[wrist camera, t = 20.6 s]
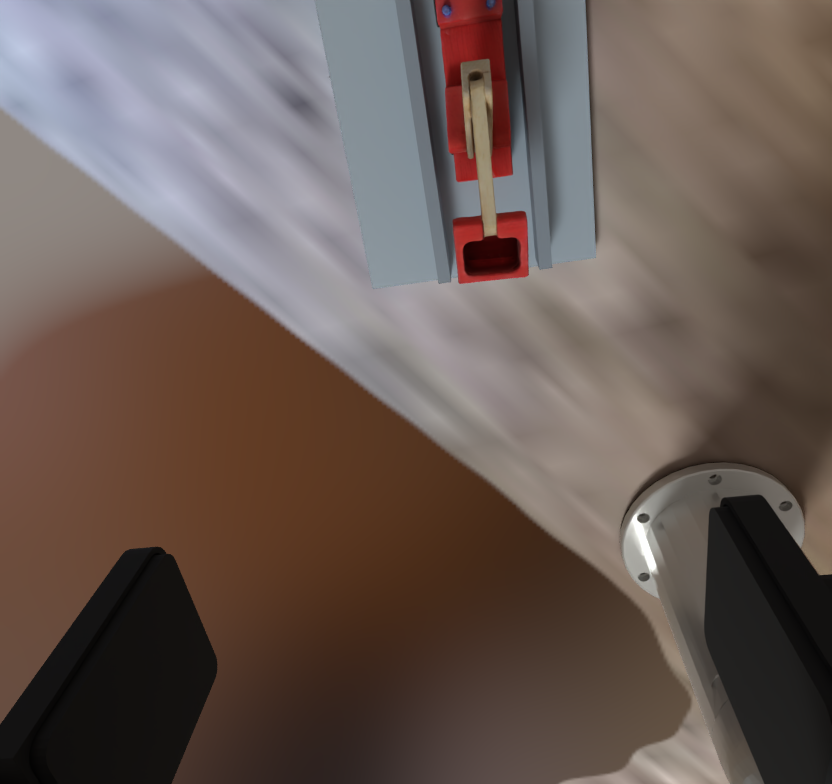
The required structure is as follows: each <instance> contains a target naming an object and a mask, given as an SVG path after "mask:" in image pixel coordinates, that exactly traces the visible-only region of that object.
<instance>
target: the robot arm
mask: <svg viewBox="0 0 832 784" xmlns="http://www.w3.org/2000/svg"><path fill="white" fill-rule="evenodd" d="M804 536H805V521H804V517H803V513H802V510H801V507H800V506H799V504H798V502H797V501H796V499H795V497H794V496H793V495H792V494H791V492H790V491H789V490H788V489H787V487H786V486H785V485H784V484H783V483H781V482H780V481H779V480H778V479H776V478H775V477H774V476H772V475H770V474H768V473H766V472H764V471H762V470H760V469H758V468H754V467H751V466H747V465H744V464H736V463H726V462H722V463H706V464H701V465H696V466H691V467H687V468H685V469H682V470H679V471H677V472H674V473H671V474H669V475H668V476H666V477H664V478H662V479H660V480H659V481H657V482H655V483H654V484H653V485H651V486H650V487H649V488H648V489H646V490H645V491H644V492H643V493H642V494H641V495H640V496H639V497H638V498H637V499H636V500H635V502H634V503H633V504H632V505H631V507H630V509H629V510H628V512H627V514H626V515H625V518H624V521H623V524H622V527H621V530H620V541H619V543H620V549H621V555H622V558H623V560H624V563H625V567H626V569H627V570H628V572H629V574H630V576H631V577H632V579H633V580H634V581H635V582H636V583H637V584H638V585H639V586H640V587H641V588H642V589H644V590H645V591H646V592H648V593H649V594H651V595H652V596H654V597H657V598H659V599H660V600H661V603H662V606H663V608H664V611H665V614H666V616H667V619H668V622H669V625H670V627H671V630H672V633H673V636H674V638H675V641H676V644H677V646H678V649H679V652H680V655H681V657H682V660H683V663H684V666H685V668H686V671H687V674H688V676H689V679H690V682H691V685H692V687H693V690H694V693H695V696H696V698H697V701H698V704H699V706H700V709H701V712H702V715H703V717H704V720H705V723H706V726H707V728H708V731H709V734H710V737H711V739H712V742H713V745H714V747H715V750H716V752H717V755H718V758H719V760H720V763H721V766H722V768H723V770H724V772H725V775H726V777H727V779H728V781H729V783H730V784H832V574H831V575H819V573H818V572H817V570H816V569H815V567H814V566H813V565H812V563H811V562H810V560H809V559H808V557H807V556H806V555H805V553H804V552H803V550H802V549H801V548H802V544H803V540H804ZM216 673H217V659H216V655H215V653H214V650H213V648H212V646H211V643H210V641H209V639H208V636H207V634H206V632H205V629H204V627H203V624H202V622H201V620H200V617H199V615H198V613H197V610H196V608H195V606H194V603H193V601H192V598H191V596H190V594H189V591H188V589H187V586H186V584H185V582H184V579H183V577H182V575H181V573H180V570H179V568H178V565H177V563H176V561H175V559H174V557H173V556H172V555H171V554H166V552H165V551H164V550H163V549H162V548H161V547H150V548H138V549H129V550H127V551H125V552H124V553H123V554H122V556H121V557H120V559H119V560H118V561H117V562H116V564H115V565H114V567H113V568H112V569H111V571H110V573H109V574H108V575H107V577H106V578H105V579H104V581H103V582H102V583H101V585H100V586H99V588H98V589H97V590H96V592H95V593H94V595H93V596H92V597H91V599H90V600H89V602H88V603H87V604H86V606H85V607H84V608H83V610H82V611H81V613H80V614H79V615H78V617H77V618H76V620H75V621H74V622H73V624H72V625H71V627H70V628H69V629H68V631H67V632H66V634H65V635H64V636H63V638H62V639H61V641H60V642H59V643H58V645H57V646H56V648H55V649H54V650H53V652H52V653H51V655H50V656H49V657H48V659H47V660H46V661H45V663H44V664H43V666H42V667H41V668H40V670H39V671H38V673H37V674H36V675H35V677H34V678H33V680H32V681H31V683H30V684H29V685H28V687H27V688H26V689H25V691H24V692H23V694H22V695H21V696H20V698H19V699H18V700H17V702H16V703H15V705H14V706H13V708H12V709H11V710H10V712H9V713H8V714H7V716H6V717H5V719H4V720H3V721H2V723H1V724H0V784H171V783H172V781H173V779H174V776H175V774H176V771H177V769H178V767H179V764H180V761H181V759H182V757H183V755H184V752H185V750H186V747H187V745H188V743H189V740H190V738H191V735H192V733H193V730H194V728H195V726H196V723H197V721H198V719H199V716H200V714H201V711H202V709H203V707H204V704H205V702H206V699H207V697H208V695H209V692H210V690H211V687H212V685H213V683H214V680H215V677H216Z"/></svg>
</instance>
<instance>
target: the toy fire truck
mask: <svg viewBox="0 0 832 784" xmlns="http://www.w3.org/2000/svg"><path fill="white" fill-rule="evenodd" d="M433 2H434V11H435V17H436V24H437V27H439V28H440V36H441V45H442V56H443V64H444V73H445V82H446V88H445V103H446V117H447V136H448V147H449V150H448V151H449V153H451V155H454V163H455V172H456V181H457V182H467V181H474V180H478V185H479V196H480V205H481V215H480V216H474V217H459V218H456V219H453V221H452V223H453V234H454V244H455V253H456V264H457V273H458V282H459V283H460V284H462V283H472V282H480V281H489V280H499V279H508V278H519V277H526V276H528V275H529V270H528V269H529V264H528V260H529V259H528V257H529V254H528V224H527V223H528V222H527V216H526V212H525V211H514V212H505V213H496V207H495V197H494V186H493V178H497V177H505V176H511V175H513V166H512V154H511V130H510V113H509V99H508V82H507V80H506V71H505V60H504V46H503V31H502V20H501V16H502V12H503V7H502V0H433Z"/></svg>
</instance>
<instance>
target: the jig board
mask: <svg viewBox="0 0 832 784" xmlns="http://www.w3.org/2000/svg"><path fill="white" fill-rule="evenodd" d="M315 5H316V10H317V15H318V20H319V25H320V30H321V35H322V40H323V45H324V50H325V55H326V60H327V64H328V69H329V74H330V79H331V84H332V89H333V94H334V99H335V104H336V109H337V114H338V119H339V124H340V129H341V134H342V139H343V144H344V149H345V154H346V159H347V164H348V169H349V174H350V179H351V184H352V189H353V194H354V199H355V204H356V209H357V214H358V219H359V224H360V229H361V234H362V239H363V244H364V249H365V253H366V258H367V263H368V268H369V273H370V278H371V283H372V288H373V289H377V288H384V287H391V286H398V285H405V284H413V283H420V282H427V281H434V280H438V283H439V284H440V283H447V282H451V278H456V277H458V273H457V264H456V253H455V244H454V234H453V223H452V221H453V219H456V218H459V217H474V216H480V215H481V205H480V196H479V185H478V180H474V181H467V182H457V181H456V172H455V163H454V155H451V153H449V151H448V150H449V147H448V136H447V117H446V103H445V88H446V82H445V73H444V64H443V56H442V45H441V36H440V28H439V27H437V24H436V17H435V11H434V2H433V0H315ZM502 7H503V12H502V16H501V20H502V31H503V46H504V60H505V71H506V80H507V82H508V99H509V113H510V130H511V154H512V166H513V175H511V176H505V177H497V178H493V186H494V197H495V207H496V213H505V212H514V211H525V212H526V216H527V222H528V223H527V224H528V254H529V257H528V259H529V260H528V264H529V267H534V266H538V267H539V269H540V270H541V269H548V268H552V264H556V263H563V262H570V261H577V260H584V259H591V258H596V245H595V221H594V197H593V173H592V149H591V125H590V101H589V77H588V53H587V29H586V5H585V0H502Z"/></svg>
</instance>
